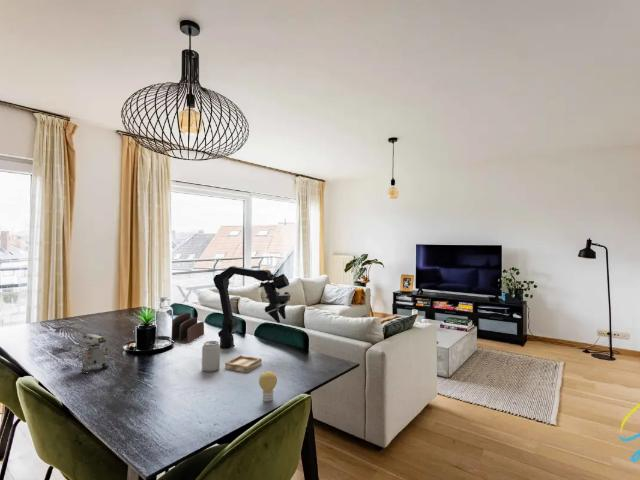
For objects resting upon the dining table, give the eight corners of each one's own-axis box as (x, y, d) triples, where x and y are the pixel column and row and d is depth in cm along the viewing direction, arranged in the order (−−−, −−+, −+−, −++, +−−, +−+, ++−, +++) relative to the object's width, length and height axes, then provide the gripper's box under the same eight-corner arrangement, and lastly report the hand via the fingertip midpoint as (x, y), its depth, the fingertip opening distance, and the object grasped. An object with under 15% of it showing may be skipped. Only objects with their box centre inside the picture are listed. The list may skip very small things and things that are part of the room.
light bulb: (259, 396, 125) (260, 368, 125) (277, 395, 126) (277, 368, 126) (258, 404, 119) (258, 375, 119) (276, 404, 119) (276, 375, 120)
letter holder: (171, 343, 190) (171, 317, 190) (188, 333, 210) (189, 310, 210) (187, 343, 189) (188, 318, 189) (204, 334, 209) (204, 311, 209)
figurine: (99, 363, 157) (100, 330, 157) (109, 369, 149) (110, 335, 150) (76, 369, 149) (77, 334, 150) (85, 375, 142) (86, 339, 142)
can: (223, 367, 153) (223, 340, 153) (212, 373, 146) (213, 345, 146) (209, 365, 156) (209, 339, 156) (198, 371, 149) (198, 343, 149)
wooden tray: (225, 368, 152) (225, 363, 152) (240, 360, 163) (240, 355, 163) (247, 372, 148) (247, 366, 148) (261, 363, 159) (261, 358, 159)
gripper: (279, 289, 168) (290, 319, 167) (290, 285, 187) (300, 312, 185) (259, 297, 170) (270, 327, 169) (272, 292, 189) (282, 318, 187)
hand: (282, 320), depth 178 cm, fingers open, 9 cm apart
